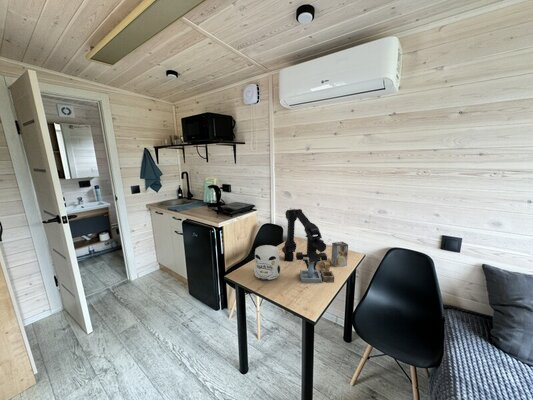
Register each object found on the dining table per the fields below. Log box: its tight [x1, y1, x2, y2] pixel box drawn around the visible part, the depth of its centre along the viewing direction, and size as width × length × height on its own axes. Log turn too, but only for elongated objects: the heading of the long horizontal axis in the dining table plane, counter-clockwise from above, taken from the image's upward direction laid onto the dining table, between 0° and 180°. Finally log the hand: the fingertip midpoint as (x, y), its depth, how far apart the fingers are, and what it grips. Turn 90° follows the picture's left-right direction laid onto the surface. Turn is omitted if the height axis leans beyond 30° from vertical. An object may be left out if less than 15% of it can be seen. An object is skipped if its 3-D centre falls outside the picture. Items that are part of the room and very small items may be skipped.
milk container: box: [253, 244, 281, 281], centre depth 141 cm, size 17×17×18 cm
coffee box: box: [330, 241, 349, 268], centre depth 155 cm, size 9×6×16 cm
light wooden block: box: [323, 261, 331, 271], centre depth 149 cm, size 3×4×5 cm
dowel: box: [307, 261, 315, 277], centre depth 138 cm, size 4×4×9 cm
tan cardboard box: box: [314, 263, 325, 274], centre depth 149 cm, size 6×9×2 cm, turn 175°
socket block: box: [320, 270, 335, 283], centre depth 138 cm, size 7×7×4 cm
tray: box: [299, 269, 323, 284], centre depth 139 cm, size 12×10×2 cm
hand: (310, 268), depth 138 cm, fingers closed on dowel, 3 cm apart
